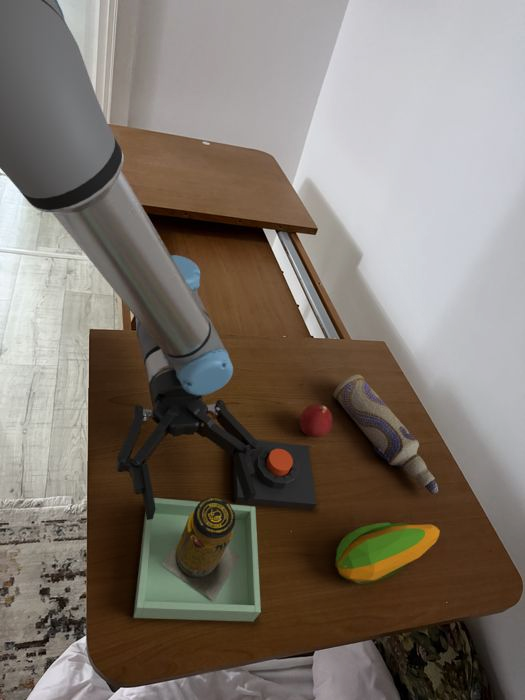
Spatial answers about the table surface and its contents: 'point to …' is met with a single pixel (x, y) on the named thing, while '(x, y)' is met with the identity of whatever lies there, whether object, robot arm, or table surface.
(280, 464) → the button
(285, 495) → the button base
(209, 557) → the condiment
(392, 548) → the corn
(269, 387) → the table surface
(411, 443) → the decorative bottle
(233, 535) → the mint green tray
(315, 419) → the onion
